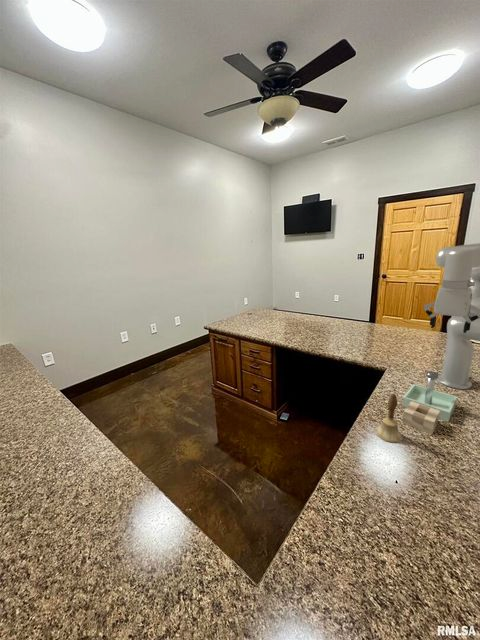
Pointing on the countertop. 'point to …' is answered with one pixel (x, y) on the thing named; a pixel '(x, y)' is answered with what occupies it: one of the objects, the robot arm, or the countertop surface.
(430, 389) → the steel pin
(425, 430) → the hitch block
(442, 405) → the tray
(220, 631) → the countertop surface
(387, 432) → the hand bell
